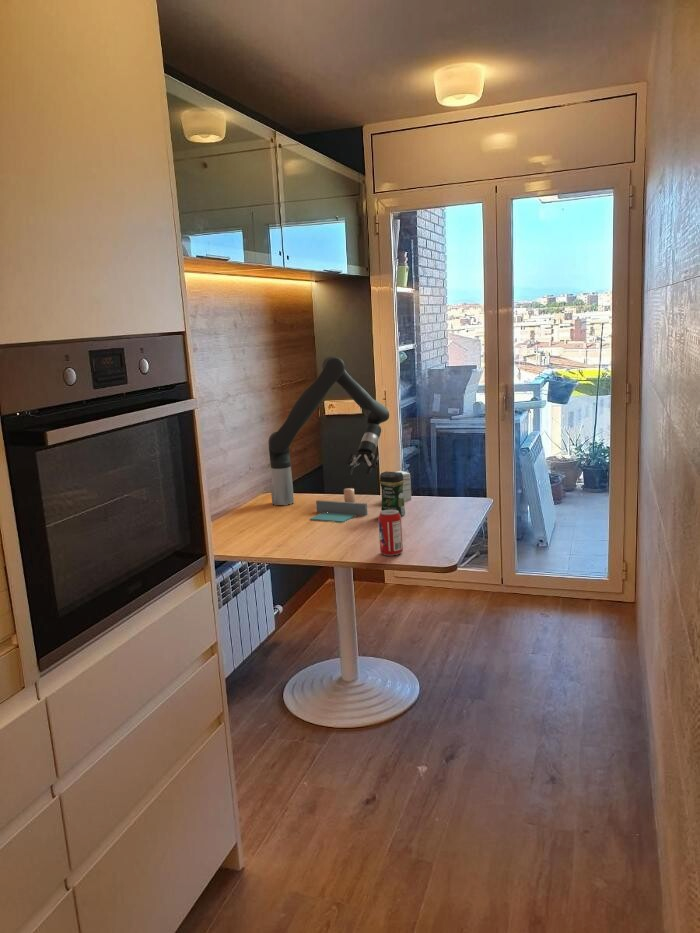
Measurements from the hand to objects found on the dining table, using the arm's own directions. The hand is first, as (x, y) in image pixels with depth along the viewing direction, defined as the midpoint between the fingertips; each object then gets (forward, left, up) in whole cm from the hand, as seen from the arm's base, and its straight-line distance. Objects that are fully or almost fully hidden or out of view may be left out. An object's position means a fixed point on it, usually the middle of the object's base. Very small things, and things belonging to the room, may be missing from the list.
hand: (358, 474), depth 325 cm
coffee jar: (+20, -18, -14) cm, 31 cm away
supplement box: (+16, +9, -14) cm, 23 cm away
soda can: (+33, -68, -14) cm, 77 cm away
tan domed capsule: (-2, -9, -14) cm, 17 cm away
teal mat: (-4, -24, -14) cm, 28 cm away
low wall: (-3, -17, -14) cm, 22 cm away
